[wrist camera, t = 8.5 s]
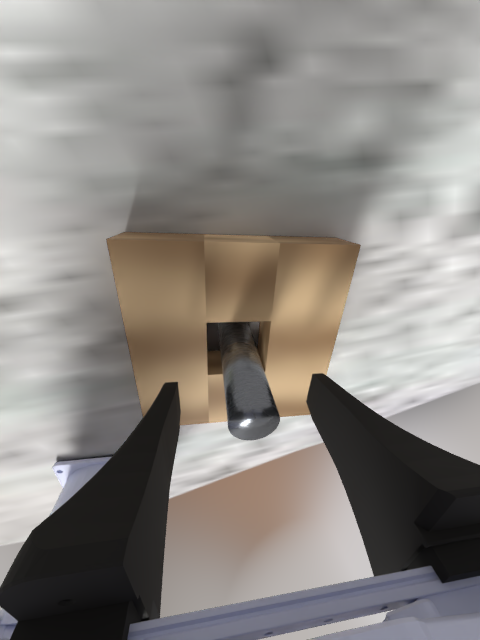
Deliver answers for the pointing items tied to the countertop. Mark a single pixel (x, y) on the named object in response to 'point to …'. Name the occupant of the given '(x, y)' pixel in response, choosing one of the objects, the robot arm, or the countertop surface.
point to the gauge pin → (245, 384)
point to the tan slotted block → (229, 311)
